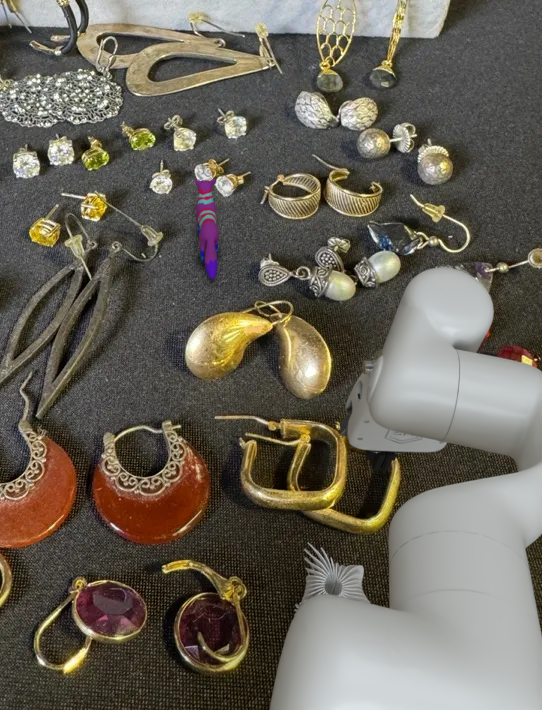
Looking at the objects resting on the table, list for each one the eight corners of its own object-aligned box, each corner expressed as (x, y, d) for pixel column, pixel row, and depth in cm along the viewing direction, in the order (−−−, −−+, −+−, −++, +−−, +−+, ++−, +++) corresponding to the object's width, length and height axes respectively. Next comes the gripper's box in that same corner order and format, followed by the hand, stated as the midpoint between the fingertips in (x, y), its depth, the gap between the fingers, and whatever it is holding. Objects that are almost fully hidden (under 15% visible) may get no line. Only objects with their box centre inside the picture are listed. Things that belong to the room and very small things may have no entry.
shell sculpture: (352, 661, 100) (382, 617, 86) (285, 656, 100) (305, 611, 86) (346, 591, 105) (374, 540, 92) (283, 587, 105) (301, 535, 92)
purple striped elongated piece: (211, 208, 150) (214, 168, 142) (222, 284, 138) (226, 245, 130) (191, 209, 150) (193, 169, 142) (201, 285, 138) (203, 247, 130)
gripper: (343, 404, 74) (313, 487, 88) (505, 410, 74) (451, 493, 88) (334, 336, 79) (308, 425, 93) (487, 341, 79) (438, 430, 93)
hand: (377, 458), depth 91 cm, fingers closed
